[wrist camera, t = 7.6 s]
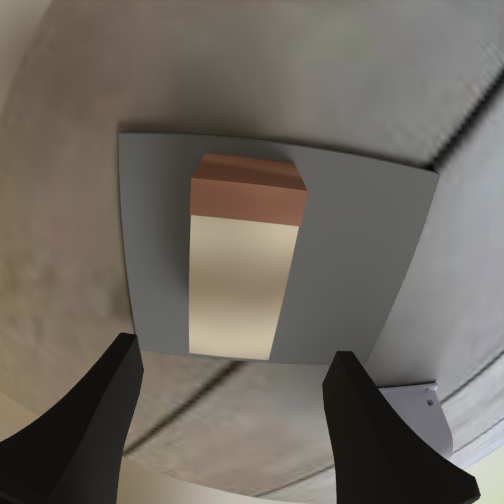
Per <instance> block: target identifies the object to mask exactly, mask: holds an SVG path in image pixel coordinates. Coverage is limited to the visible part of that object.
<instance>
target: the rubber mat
mask: <svg viewBox="0 0 504 504" xmlns="http://www.w3.org/2000/svg"><path fill="white" fill-rule="evenodd" d="M205 153H209V154H220V155H230V156H240V157H249V158H258V159H266V160H274V161H282V162H289V163H295V165H296V167H297V169H298V171H299V173H300V175H301V178H302V180H303V182H304V184H305V186H306V188H307V190H308V192H307V197H306V202H305V207H304V212H303V217H302V222H301V226H300V227H299V229H298V234H297V238H296V243H295V248H294V252H293V257H292V262H291V266H290V271H289V275H288V280H287V284H286V288H285V293H284V297H283V302H282V306H281V310H280V314H279V319H278V323H277V327H276V331H275V335H274V339H273V343H272V348H271V352H270V356H269V360H259V359H246V358H233V357H222V356H212V355H203V354H194V353H189V263H190V228H191V215H190V196H191V178H192V176H193V174H194V172H195V170H196V169H197V167H198V165H199V163H200V161H201V159H202V157H203V156H204V154H205ZM439 175H440V174H438V173H437V172H435V171H431V170H427V169H423V168H419V167H415V166H411V165H406V164H402V163H398V162H393V161H389V160H384V159H379V158H374V157H369V156H364V155H359V154H354V153H348V152H343V151H337V150H331V149H325V148H319V147H312V146H306V145H299V144H292V143H284V142H276V141H268V140H259V139H250V138H240V137H229V136H216V135H202V134H185V133H162V132H121V133H119V180H120V201H121V216H122V229H123V241H124V251H125V260H126V269H127V278H128V285H129V293H130V300H131V307H132V313H133V319H134V326H135V331H136V335H137V337H138V342H139V348H140V350H146V351H153V352H160V353H168V354H176V355H184V356H193V357H203V358H213V359H224V360H236V361H250V362H267V363H288V364H331V363H332V361H333V359H334V356H335V354H336V352H337V351H352V352H353V353H354V354H355V356H356V357H357V359H358V360H359V362H360V363H361V364H365V362H366V360H367V358H368V356H369V354H370V352H371V350H372V348H373V346H374V344H375V342H376V340H377V338H378V336H379V334H380V332H381V330H382V328H383V326H384V323H385V321H386V319H387V317H388V315H389V313H390V310H391V308H392V306H393V304H394V301H395V299H396V297H397V294H398V292H399V290H400V287H401V285H402V282H403V280H404V278H405V275H406V273H407V270H408V268H409V265H410V262H411V260H412V257H413V255H414V252H415V249H416V247H417V244H418V241H419V238H420V235H421V233H422V230H423V227H424V224H425V221H426V218H427V215H428V212H429V209H430V206H431V202H432V199H433V196H434V193H435V189H436V186H437V182H438V179H439Z"/></svg>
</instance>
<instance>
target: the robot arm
mask: <svg viewBox="0 0 504 504" xmlns="http://www.w3.org/2000/svg"><path fill="white" fill-rule="evenodd" d="M143 372H144V368H143V364H142V358H141V353H140V348H139V342H138V337H137V335H135V334H128V333H120V334H119V335H118V336H117V338H116V339H115V340H114V341H113V343H112V344H111V345H110V346H109V348H108V349H107V350H106V351H105V352H104V354H103V355H102V356H101V357H100V359H99V360H98V361H97V362H96V363H95V364H94V365H93V367H92V368H91V369H90V370H89V371H88V372H87V373H86V375H85V376H84V377H83V378H82V379H81V380H80V381H79V382H78V383H77V384H76V385H75V386H74V387H73V388H72V389H71V390H70V391H69V392H68V393H67V394H66V395H65V396H64V397H63V398H62V399H61V400H60V401H59V402H57V403H56V404H55V405H54V406H53V407H52V408H51V409H49V410H48V411H47V412H45V413H44V414H43V415H42V416H40V417H39V418H38V419H37V420H35V421H34V422H32V423H31V424H30V425H28V426H26V427H25V428H24V429H22V430H20V431H19V432H17V433H16V434H14V435H13V436H11V437H9V438H7V439H5V440H3V441H1V442H0V504H116V501H117V488H118V480H119V471H120V465H121V459H122V453H123V448H124V444H125V440H126V437H127V433H128V430H129V427H130V423H131V420H132V417H133V414H134V410H135V407H136V404H137V400H138V397H139V394H140V388H141V383H142V378H143ZM322 386H323V400H324V410H325V415H326V420H327V425H328V430H329V435H330V440H331V445H332V450H333V455H334V462H335V473H336V493H337V504H472V503H473V502H475V501H477V500H478V499H479V498H480V496H481V495H480V491H479V488H478V485H477V482H476V479H475V477H474V476H472V475H470V474H469V473H467V472H465V471H464V470H462V469H460V468H458V467H457V466H455V465H454V464H452V463H451V462H450V461H449V460H450V457H451V455H452V450H453V439H452V434H451V431H450V428H449V425H448V423H447V420H446V418H445V415H444V413H443V410H442V408H441V405H440V403H439V400H438V398H437V396H436V393H435V390H436V389H437V388H438V385H437V383H431V384H422V385H413V386H402V387H390V388H377V386H376V385H375V384H374V382H373V381H372V379H371V378H370V376H369V375H368V373H367V372H366V371H365V369H364V368H363V366H362V365H361V363H360V362H359V360H358V359H357V357H356V356H355V354H354V353H353V352H352V351H337V352H336V354H335V356H334V359H333V361H332V363H331V366H330V368H329V370H328V373H327V375H326V377H325V379H324V382H323V384H322Z"/></svg>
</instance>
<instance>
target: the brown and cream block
mask: <svg viewBox="0 0 504 504" xmlns="http://www.w3.org/2000/svg"><path fill="white" fill-rule="evenodd" d="M307 192H308V190H307V188H306V186H305V184H304V182H303V180H302V178H301V175H300V173H299V171H298V169H297V167H296V165H295V163H289V162H282V161H274V160H266V159H258V158H249V157H240V156H230V155H220V154H209V153H205V154H204V156H203V157H202V159H201V161H200V163H199V165H198V167H197V169H196V170H195V172H194V174H193V176H192V178H191V196H190V215H191V228H190V263H189V353H194V354H203V355H212V356H222V357H233V358H246V359H259V360H269V356H270V352H271V348H272V343H273V339H274V335H275V331H276V327H277V323H278V319H279V314H280V310H281V306H282V302H283V297H284V293H285V288H286V284H287V280H288V275H289V271H290V266H291V262H292V257H293V252H294V248H295V243H296V238H297V234H298V229H299V227H300V226H301V222H302V217H303V212H304V207H305V202H306V197H307Z"/></svg>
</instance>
